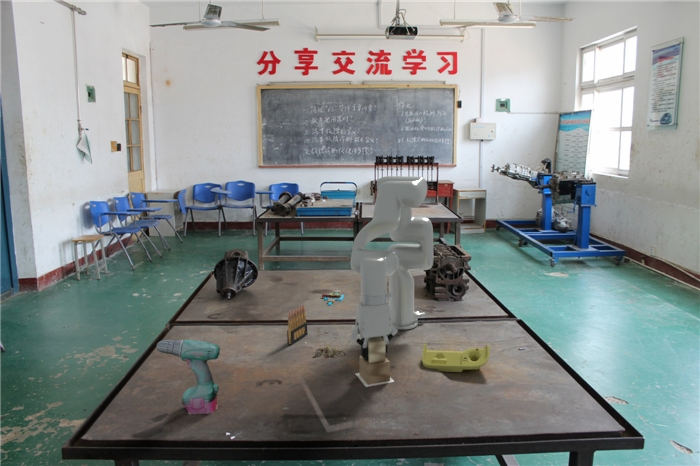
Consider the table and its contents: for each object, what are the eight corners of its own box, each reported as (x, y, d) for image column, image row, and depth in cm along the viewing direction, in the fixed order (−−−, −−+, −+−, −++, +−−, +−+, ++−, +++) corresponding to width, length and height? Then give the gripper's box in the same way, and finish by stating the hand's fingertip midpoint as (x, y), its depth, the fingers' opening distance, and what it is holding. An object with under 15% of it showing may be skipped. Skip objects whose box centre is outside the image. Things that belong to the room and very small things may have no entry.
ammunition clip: (291, 345, 184) (290, 312, 182) (287, 344, 185) (285, 312, 183) (307, 334, 194) (306, 303, 191) (303, 334, 195) (302, 303, 192)
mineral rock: (310, 355, 171) (317, 340, 178) (311, 365, 173) (318, 350, 180) (342, 359, 168) (348, 343, 175) (343, 370, 170) (349, 354, 177)
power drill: (166, 403, 146) (159, 335, 142) (225, 400, 147) (221, 332, 143) (159, 417, 139) (152, 346, 135) (221, 413, 140) (216, 343, 136)
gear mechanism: (317, 305, 227) (338, 306, 225) (316, 293, 226) (338, 294, 224) (327, 292, 246) (346, 292, 245) (326, 281, 245) (346, 281, 244)
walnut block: (381, 370, 161) (380, 352, 160) (390, 380, 154) (390, 361, 153) (359, 374, 159) (359, 355, 158) (367, 384, 152) (367, 365, 151)
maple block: (379, 353, 158) (379, 334, 157) (385, 360, 154) (385, 341, 153) (363, 356, 157) (363, 337, 156) (369, 362, 152) (369, 343, 151)
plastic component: (421, 364, 162) (424, 339, 170) (424, 380, 166) (427, 355, 174) (489, 367, 156) (489, 341, 164) (490, 383, 160) (491, 357, 168)
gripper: (395, 291, 158) (395, 348, 162) (341, 298, 153) (343, 356, 156) (406, 298, 151) (406, 357, 155) (350, 306, 146) (351, 367, 149)
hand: (374, 356), depth 155 cm, fingers closed on maple block, 5 cm apart
